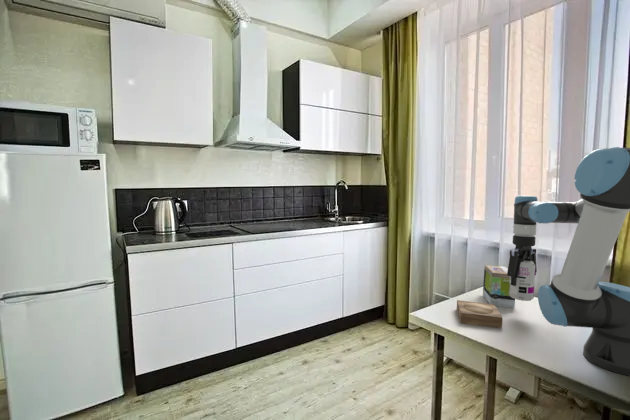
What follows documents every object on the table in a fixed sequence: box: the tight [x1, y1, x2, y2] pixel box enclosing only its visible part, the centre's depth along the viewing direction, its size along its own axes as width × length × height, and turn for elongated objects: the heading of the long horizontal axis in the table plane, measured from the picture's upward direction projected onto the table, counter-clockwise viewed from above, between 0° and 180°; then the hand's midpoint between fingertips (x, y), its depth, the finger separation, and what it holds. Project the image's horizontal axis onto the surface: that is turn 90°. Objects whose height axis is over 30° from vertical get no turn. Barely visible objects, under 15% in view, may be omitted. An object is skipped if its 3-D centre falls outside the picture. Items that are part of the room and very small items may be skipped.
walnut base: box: [456, 299, 504, 329], centre depth 129 cm, size 14×14×4 cm
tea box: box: [482, 264, 516, 309], centre depth 147 cm, size 15×10×15 cm
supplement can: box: [509, 260, 536, 302], centre depth 129 cm, size 8×8×15 cm
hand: (521, 292), depth 129 cm, fingers closed on supplement can, 8 cm apart
